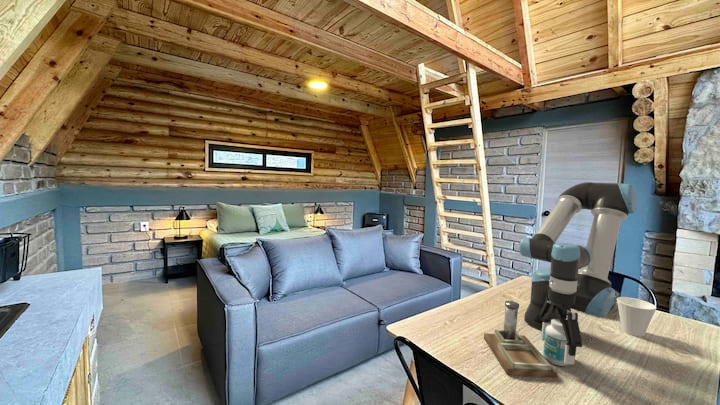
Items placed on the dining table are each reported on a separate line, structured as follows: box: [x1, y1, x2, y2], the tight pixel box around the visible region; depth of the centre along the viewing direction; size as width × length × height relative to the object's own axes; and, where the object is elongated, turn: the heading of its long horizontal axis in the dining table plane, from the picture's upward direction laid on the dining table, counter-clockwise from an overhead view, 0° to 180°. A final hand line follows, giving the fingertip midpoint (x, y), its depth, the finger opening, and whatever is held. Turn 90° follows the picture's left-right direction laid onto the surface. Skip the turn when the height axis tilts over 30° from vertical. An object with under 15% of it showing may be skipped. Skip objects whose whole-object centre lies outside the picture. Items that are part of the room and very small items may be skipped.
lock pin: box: [503, 300, 520, 340], centre depth 109 cm, size 5×5×14 cm
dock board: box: [483, 329, 558, 379], centre depth 103 cm, size 15×21×4 cm
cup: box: [616, 296, 657, 337], centre depth 121 cm, size 12×12×12 cm
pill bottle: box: [542, 319, 569, 367], centre depth 101 cm, size 8×7×14 cm
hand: (556, 351), depth 101 cm, fingers open, 13 cm apart
